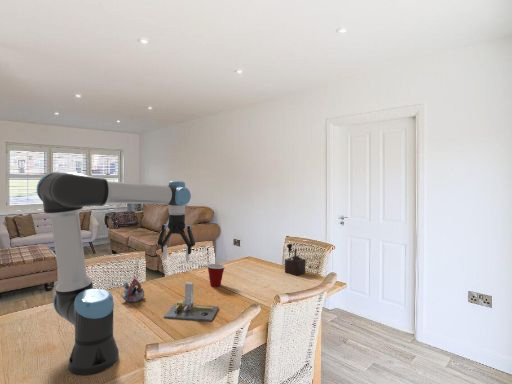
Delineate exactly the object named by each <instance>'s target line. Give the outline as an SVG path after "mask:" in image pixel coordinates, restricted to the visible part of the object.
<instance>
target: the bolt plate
mask: <svg viewBox="0 0 512 384" xmlns="http://www.w3.org/2000/svg"><path fill="white" fill-rule="evenodd" d="M176 304H177V303H174V304H173V305H172V306H171V307H170V309H168V311H166V312H165V314H164V315H163V318H164V319H176V320H190V321H202V322H212V321H213V320H214V318H215V316H216V314H217V313H218V311H219V308H220V306H212V305H200V304H193V306H204V307H213V310H212V311H205V310H187V312H185V310H184V309H182V310H178V312H177V310H175V305H176Z"/></svg>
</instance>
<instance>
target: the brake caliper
mask: <svg viewBox="0 0 512 384" xmlns="http://www.w3.org/2000/svg"><path fill="white" fill-rule="evenodd" d="M122 287H123V288H124V289H123V292H124V293H123V294H120V298H122V299H123V300H124V301H125V302H126V301H127V303H138V302H140V301H142V300H143V299H144V297H145V290H144V288H143V287H142V284H141V283H140V281H138V280H137V278H133V279H132V281H131V283H130V284H128V282H127V281H126V282H124V283H123V284H122ZM139 300H140V301H139Z"/></svg>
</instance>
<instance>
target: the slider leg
mask: <svg viewBox="0 0 512 384" xmlns="http://www.w3.org/2000/svg"><path fill="white" fill-rule="evenodd" d="M184 300H185V301H184V310H185V312H187V310H191V306H193V305H195V304H194V281H186V282H185V285H184Z"/></svg>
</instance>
